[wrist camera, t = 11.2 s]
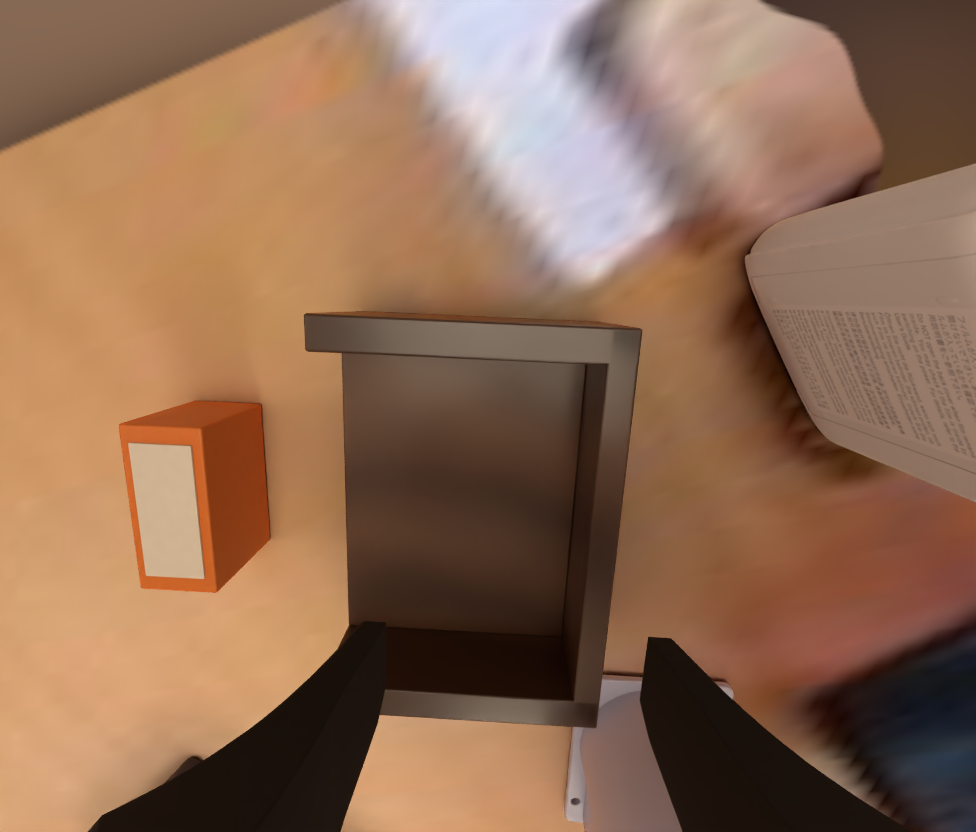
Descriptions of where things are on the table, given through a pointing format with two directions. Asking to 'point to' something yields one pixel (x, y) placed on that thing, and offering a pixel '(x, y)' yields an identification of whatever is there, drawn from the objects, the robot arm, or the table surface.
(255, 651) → the table surface
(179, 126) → the table surface
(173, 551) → the packet
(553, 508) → the shelf
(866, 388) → the white piece
